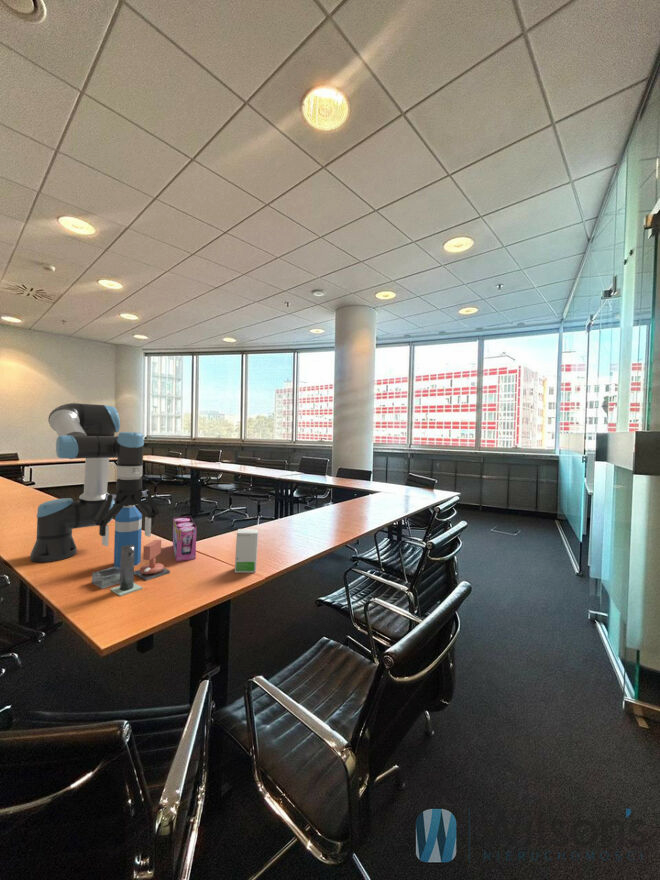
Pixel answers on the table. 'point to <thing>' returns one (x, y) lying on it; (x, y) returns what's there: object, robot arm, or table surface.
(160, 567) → the pink block-head stand
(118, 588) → the mat
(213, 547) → the table surface
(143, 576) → the wheel base
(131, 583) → the hook peg
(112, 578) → the block
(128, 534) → the water bottle
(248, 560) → the skincare box
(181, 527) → the gum box
